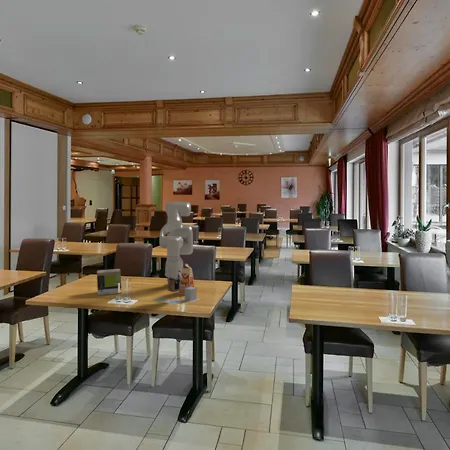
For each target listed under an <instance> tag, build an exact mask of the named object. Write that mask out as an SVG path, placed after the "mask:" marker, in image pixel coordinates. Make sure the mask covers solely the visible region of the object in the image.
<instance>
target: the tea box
mask: <svg viewBox="0 0 450 450" xmlns="http://www.w3.org/2000/svg"><path fill="white" fill-rule="evenodd" d="M121 273H122V272H121V269H120V268H115V269H114V268H113V269H101V270H100V269H99V270H97V271H96V285H97V286H96V287H97V295H98V296H102V295H113V294H114V295H115V294H116V295H117V294H118V293H117V292H118V283H120V290H121V292H122V275H121Z"/></svg>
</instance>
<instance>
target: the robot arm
mask: <svg viewBox="0 0 450 450" xmlns="http://www.w3.org/2000/svg"><path fill="white" fill-rule="evenodd" d="M164 209H165V212H166V215H167V223H165V224H164V225H163V227H162V228H161V229H160V233H159V246H160V247H161V249H166V261H165V268H164V270H165V272H164V276H165V277H166V282H168V279H171V278H173V279H175V290H177V289H179V283H180V281H181V280H182V279H183V277H182V275H181V272H182V268H183V267H184V260H183V259H182V257H181V256H183V255H184V256H185V255H187V256H188V255H192V254H193V252H194V233H193V228H192V226H190V225H183V220H182V219H183V218H182V217H189V216H191V213H192V212H191V211H192V205H191V203H190V202H188V201H169V202H166V203H165V204H164ZM168 233H169V235H166V234H168ZM177 279H178V280H177ZM167 286H168V283H167Z"/></svg>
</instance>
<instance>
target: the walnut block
mask: <svg viewBox="0 0 450 450" xmlns="http://www.w3.org/2000/svg"><path fill="white" fill-rule="evenodd" d="M167 280H168V281H167V284H168V285H167V291H169V292H172V293H175V292H179V291H180V283H179V289H177V290H175V279H173V278H171V279H167ZM177 280H178V279H177Z"/></svg>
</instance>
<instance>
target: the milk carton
mask: <svg viewBox="0 0 450 450" xmlns="http://www.w3.org/2000/svg"><path fill="white" fill-rule="evenodd" d="M181 275H182V277H183V279H182V280H181V281H180V291H177V293H178V295H185V288H188V287H194V288H196V287H195V281H194V273H193V269H192V267H191V266H189V264H188V263H184V265H183V268H182V272H181Z"/></svg>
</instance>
